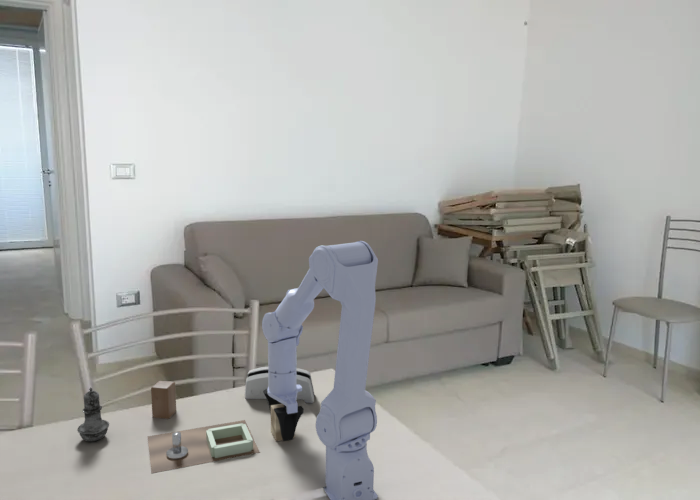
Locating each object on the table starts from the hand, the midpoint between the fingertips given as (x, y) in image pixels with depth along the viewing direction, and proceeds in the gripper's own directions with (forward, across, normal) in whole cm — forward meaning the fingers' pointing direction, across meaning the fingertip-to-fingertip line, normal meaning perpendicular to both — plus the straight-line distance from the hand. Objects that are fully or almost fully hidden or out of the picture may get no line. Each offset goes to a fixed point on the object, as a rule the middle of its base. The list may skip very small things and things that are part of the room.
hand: (282, 430), depth 116 cm
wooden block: (+2, +18, +22) cm, 29 cm away
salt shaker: (+2, +12, +36) cm, 38 cm away
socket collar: (+1, 0, +11) cm, 11 cm away
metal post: (+1, 0, +21) cm, 21 cm away
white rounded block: (+2, +18, -4) cm, 19 cm away
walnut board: (+2, +2, +16) cm, 16 cm away
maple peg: (+2, 0, 0) cm, 2 cm away
